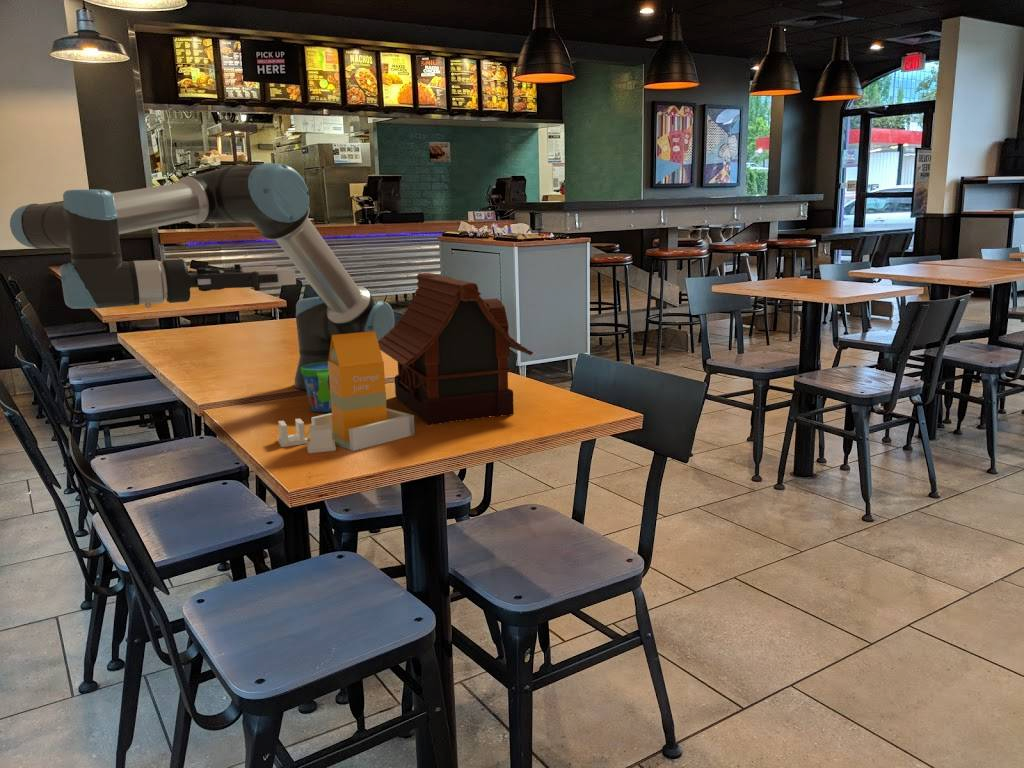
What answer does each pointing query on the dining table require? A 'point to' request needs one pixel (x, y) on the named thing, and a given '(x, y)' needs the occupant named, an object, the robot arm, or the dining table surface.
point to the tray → (372, 430)
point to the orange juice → (356, 382)
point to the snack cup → (317, 386)
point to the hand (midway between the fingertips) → (285, 274)
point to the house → (452, 352)
